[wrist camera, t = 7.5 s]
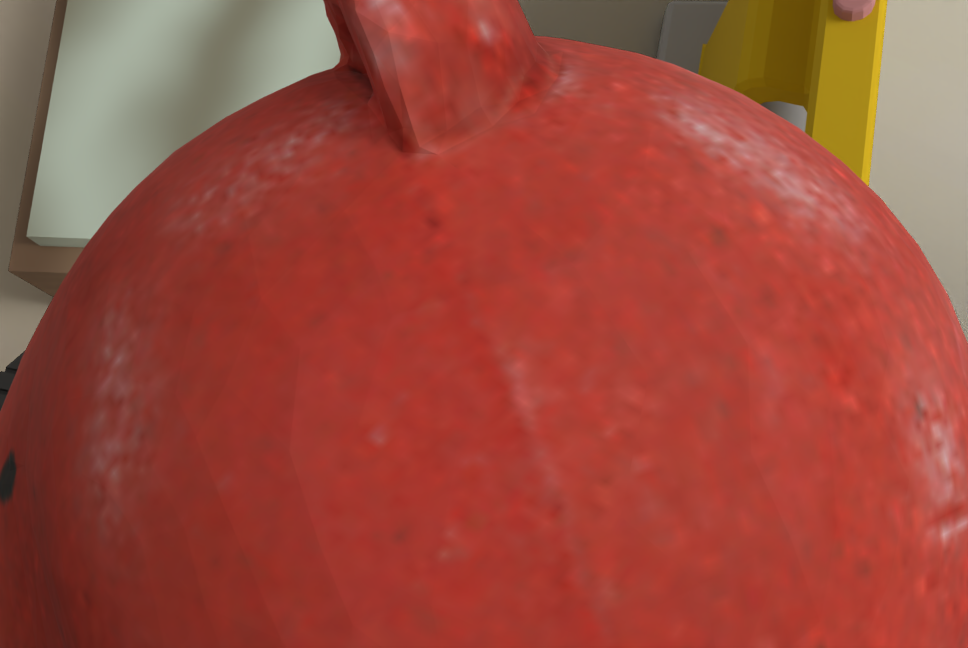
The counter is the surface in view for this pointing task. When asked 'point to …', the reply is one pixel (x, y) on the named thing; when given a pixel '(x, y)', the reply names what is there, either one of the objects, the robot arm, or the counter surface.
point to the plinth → (144, 103)
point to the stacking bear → (491, 373)
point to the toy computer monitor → (790, 62)
